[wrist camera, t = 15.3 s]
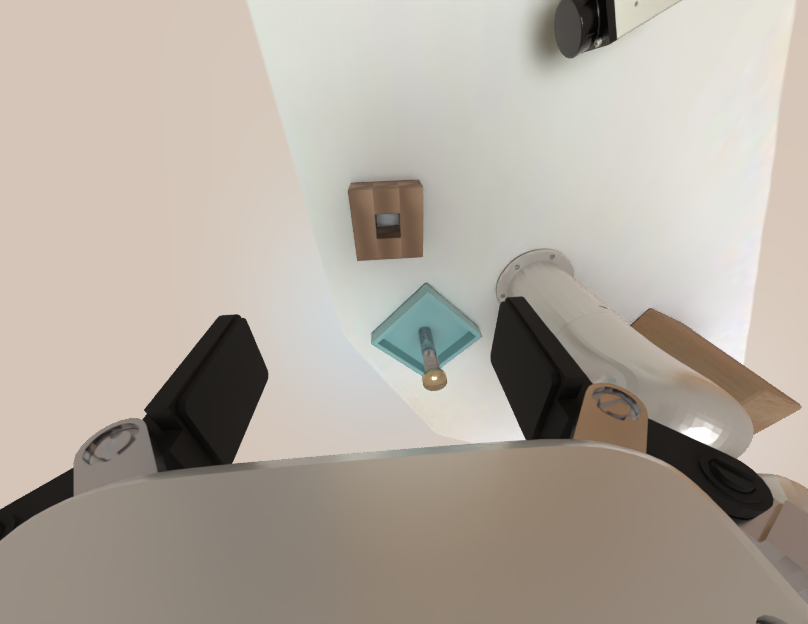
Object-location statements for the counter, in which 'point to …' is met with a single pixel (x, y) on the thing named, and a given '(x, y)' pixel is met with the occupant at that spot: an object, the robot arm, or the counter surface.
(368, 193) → the block
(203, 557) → the robot arm
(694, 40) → the counter surface
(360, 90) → the counter surface
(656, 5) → the pneumatic valve
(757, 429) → the wooden block
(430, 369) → the lock pin
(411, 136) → the counter surface
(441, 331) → the tray
